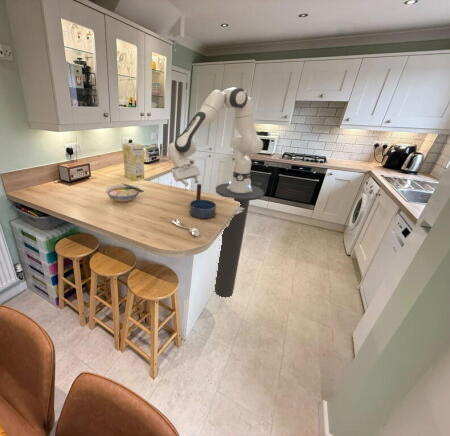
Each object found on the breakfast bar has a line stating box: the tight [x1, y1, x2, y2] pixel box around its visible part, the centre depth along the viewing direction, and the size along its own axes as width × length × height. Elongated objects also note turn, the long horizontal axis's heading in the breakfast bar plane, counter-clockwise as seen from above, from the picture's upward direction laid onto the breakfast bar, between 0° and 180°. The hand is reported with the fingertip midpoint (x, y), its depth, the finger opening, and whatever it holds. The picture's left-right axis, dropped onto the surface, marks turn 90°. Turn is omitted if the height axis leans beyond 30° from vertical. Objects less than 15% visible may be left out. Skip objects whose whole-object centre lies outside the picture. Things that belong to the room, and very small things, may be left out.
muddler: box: [195, 183, 202, 200], centre depth 146 cm, size 4×4×14 cm
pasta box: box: [122, 142, 146, 182], centre depth 199 cm, size 18×10×28 cm, turn 32°
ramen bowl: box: [105, 182, 145, 203], centre depth 155 cm, size 25×23×8 cm
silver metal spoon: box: [171, 217, 201, 237], centre depth 121 cm, size 20×4×5 cm
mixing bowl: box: [189, 198, 217, 219], centre depth 137 cm, size 15×15×6 cm
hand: (192, 184), depth 148 cm, fingers open, 8 cm apart
